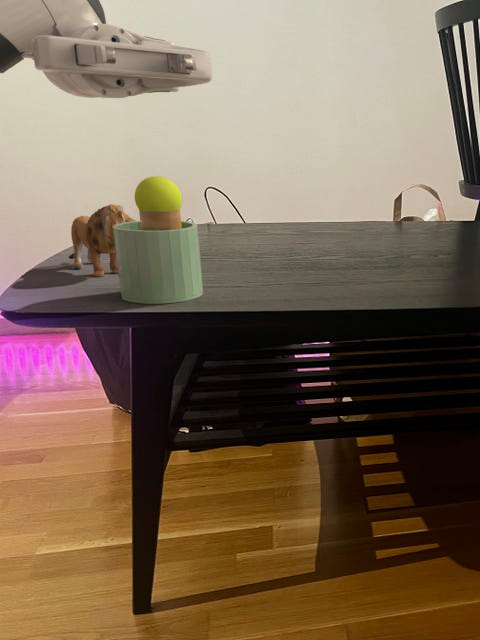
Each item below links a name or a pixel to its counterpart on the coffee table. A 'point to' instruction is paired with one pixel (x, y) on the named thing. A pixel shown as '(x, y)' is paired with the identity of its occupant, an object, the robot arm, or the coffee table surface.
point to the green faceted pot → (158, 263)
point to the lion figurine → (97, 236)
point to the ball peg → (158, 204)
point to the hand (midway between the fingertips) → (151, 58)
